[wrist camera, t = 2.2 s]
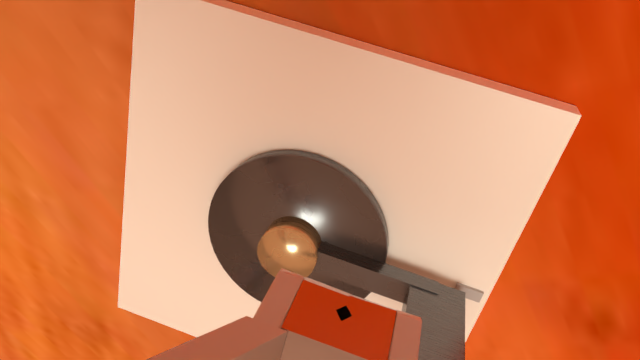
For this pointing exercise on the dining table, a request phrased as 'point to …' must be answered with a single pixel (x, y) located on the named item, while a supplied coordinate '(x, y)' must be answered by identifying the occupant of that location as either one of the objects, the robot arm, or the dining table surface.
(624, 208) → the dining table surface
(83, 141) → the dining table surface
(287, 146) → the dial board
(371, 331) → the robot arm
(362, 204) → the dial
